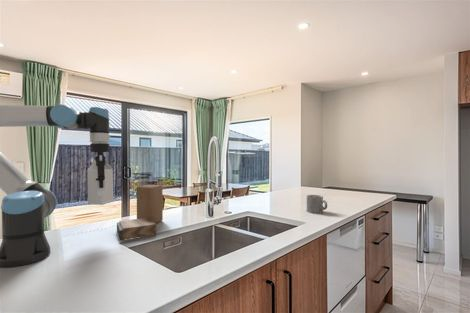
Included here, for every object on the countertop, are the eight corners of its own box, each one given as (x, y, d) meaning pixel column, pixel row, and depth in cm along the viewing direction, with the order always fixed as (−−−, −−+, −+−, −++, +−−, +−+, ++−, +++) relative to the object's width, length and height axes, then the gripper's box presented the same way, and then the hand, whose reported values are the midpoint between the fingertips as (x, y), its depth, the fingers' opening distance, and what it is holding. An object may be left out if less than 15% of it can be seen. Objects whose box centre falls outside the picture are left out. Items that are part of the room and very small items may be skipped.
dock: (119, 240, 111) (119, 229, 111) (116, 231, 123) (116, 221, 123) (155, 234, 118) (155, 224, 118) (149, 227, 130) (149, 217, 130)
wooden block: (136, 223, 136) (135, 186, 136) (148, 219, 146) (148, 184, 145) (151, 225, 133) (150, 187, 132) (163, 221, 142) (163, 185, 142)
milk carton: (102, 205, 109) (101, 160, 108) (87, 204, 110) (87, 160, 110) (113, 202, 116) (112, 159, 115) (99, 201, 117) (99, 159, 117)
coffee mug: (303, 211, 166) (303, 195, 166) (314, 209, 171) (314, 194, 171) (319, 215, 155) (319, 198, 155) (330, 213, 160) (330, 197, 160)
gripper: (111, 142, 105) (112, 196, 105) (107, 143, 124) (108, 189, 125) (90, 142, 101) (91, 198, 101) (89, 143, 120) (90, 191, 121)
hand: (100, 193), depth 113 cm, fingers closed on milk carton, 10 cm apart
